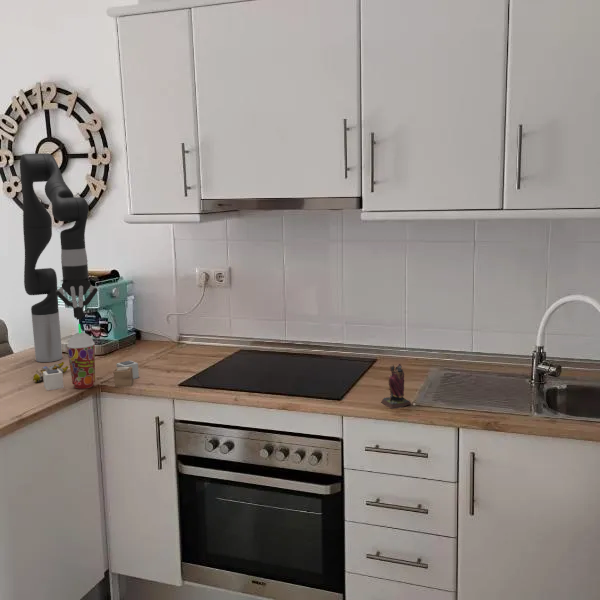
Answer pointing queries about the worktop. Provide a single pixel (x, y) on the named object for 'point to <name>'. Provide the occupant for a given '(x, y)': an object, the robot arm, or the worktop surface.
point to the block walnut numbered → (123, 376)
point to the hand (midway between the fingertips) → (78, 318)
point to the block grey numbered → (130, 364)
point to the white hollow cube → (53, 379)
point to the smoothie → (82, 359)
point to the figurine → (396, 389)
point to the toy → (40, 371)
